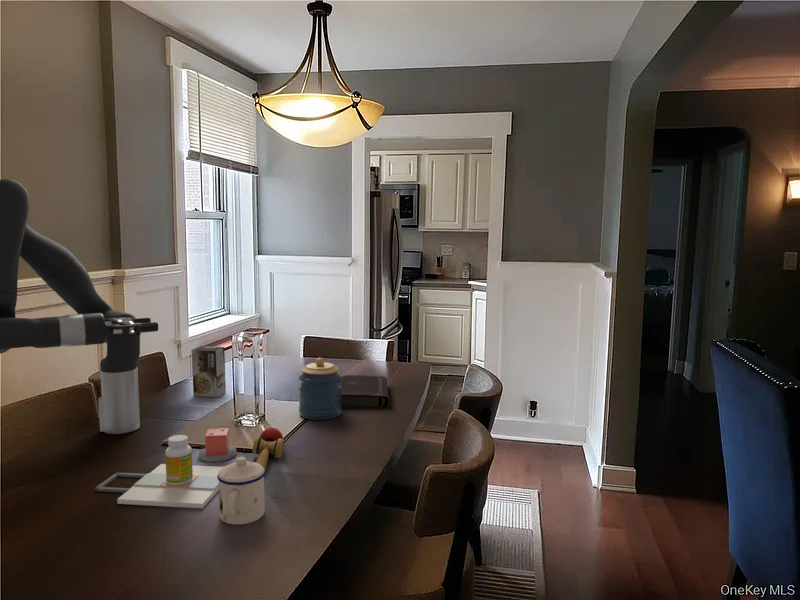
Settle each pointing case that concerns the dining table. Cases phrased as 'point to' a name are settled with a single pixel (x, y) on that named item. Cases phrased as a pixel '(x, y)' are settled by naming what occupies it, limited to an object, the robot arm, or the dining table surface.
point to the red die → (217, 446)
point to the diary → (363, 391)
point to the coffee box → (208, 371)
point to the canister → (320, 391)
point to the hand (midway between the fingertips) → (154, 324)
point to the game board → (168, 488)
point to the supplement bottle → (178, 461)
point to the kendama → (268, 445)
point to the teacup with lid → (241, 492)
